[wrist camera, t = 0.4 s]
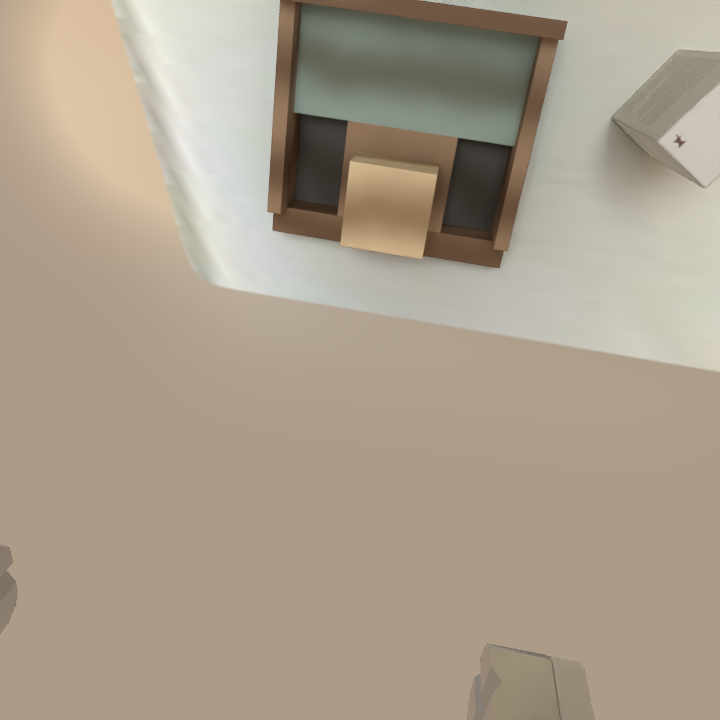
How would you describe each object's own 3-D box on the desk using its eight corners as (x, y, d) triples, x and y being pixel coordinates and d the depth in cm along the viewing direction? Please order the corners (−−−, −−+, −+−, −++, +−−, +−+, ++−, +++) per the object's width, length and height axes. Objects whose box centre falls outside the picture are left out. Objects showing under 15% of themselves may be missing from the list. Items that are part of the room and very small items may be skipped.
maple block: (358, 151, 48) (349, 161, 44) (439, 164, 47) (437, 174, 44) (348, 230, 50) (340, 245, 47) (424, 243, 50) (422, 259, 46)
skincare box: (649, 157, 48) (703, 193, 37) (609, 117, 47) (653, 142, 36) (721, 89, 45) (800, 107, 35) (680, 45, 44) (749, 50, 34)
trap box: (298, -14, 46) (273, -21, 40) (552, 22, 45) (567, 21, 39) (281, 220, 54) (258, 245, 48) (497, 256, 53) (502, 286, 47)
